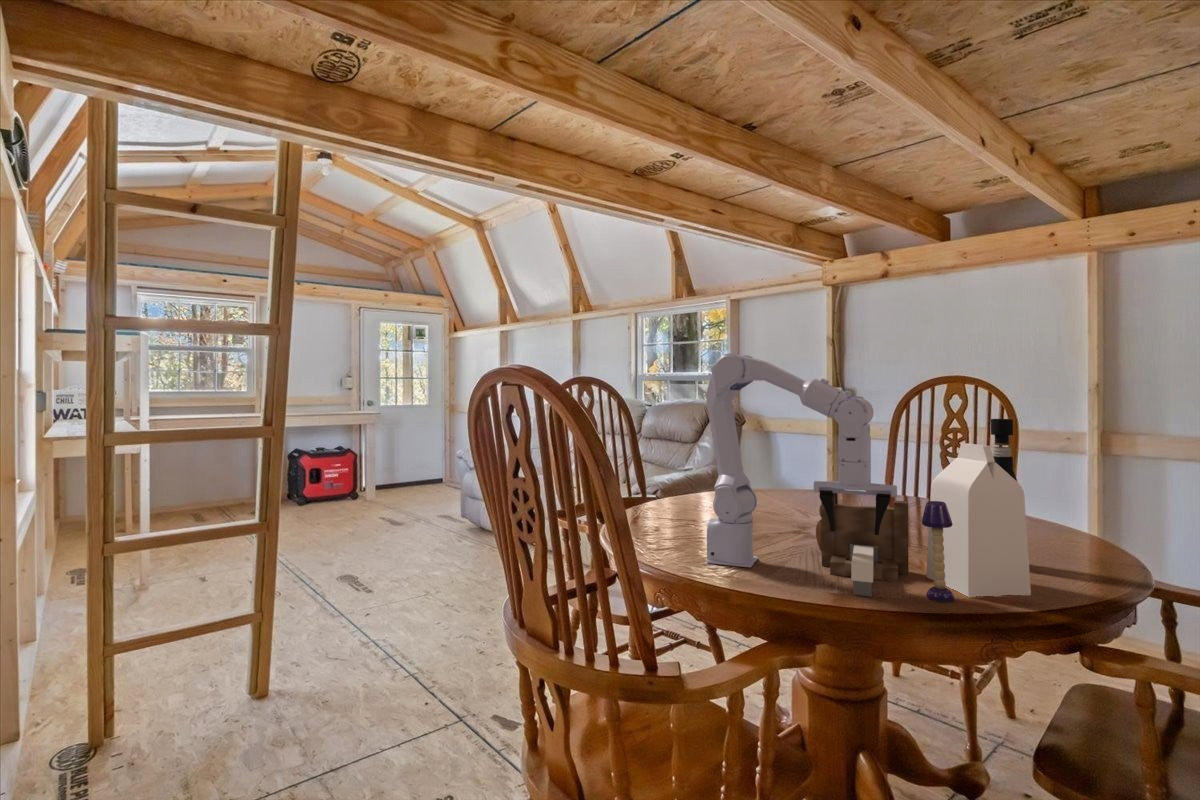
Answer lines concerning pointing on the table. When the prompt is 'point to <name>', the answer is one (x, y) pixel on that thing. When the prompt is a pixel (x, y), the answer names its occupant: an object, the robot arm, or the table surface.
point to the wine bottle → (1003, 454)
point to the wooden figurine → (818, 527)
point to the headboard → (866, 539)
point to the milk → (982, 526)
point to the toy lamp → (938, 548)
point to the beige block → (862, 568)
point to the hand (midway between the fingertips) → (854, 532)
